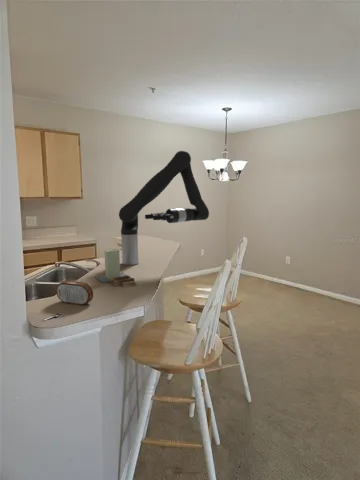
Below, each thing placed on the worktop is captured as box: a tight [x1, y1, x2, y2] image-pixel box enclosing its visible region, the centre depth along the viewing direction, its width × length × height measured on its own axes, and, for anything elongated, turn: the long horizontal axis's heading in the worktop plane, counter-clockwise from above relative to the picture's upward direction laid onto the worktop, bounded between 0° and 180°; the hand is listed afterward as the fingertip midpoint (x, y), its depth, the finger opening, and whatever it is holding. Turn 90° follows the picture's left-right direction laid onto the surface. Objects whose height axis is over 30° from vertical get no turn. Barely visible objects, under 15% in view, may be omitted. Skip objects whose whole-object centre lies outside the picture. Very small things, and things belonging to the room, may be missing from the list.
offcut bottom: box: [120, 284, 137, 289], centre depth 140 cm, size 4×6×1 cm, turn 124°
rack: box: [109, 274, 135, 287], centre depth 145 cm, size 7×9×2 cm
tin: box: [55, 279, 94, 306], centre depth 119 cm, size 15×3×8 cm, turn 71°
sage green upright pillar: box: [103, 248, 121, 279], centre depth 151 cm, size 4×6×13 cm, turn 125°
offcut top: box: [122, 280, 137, 286], centre depth 140 cm, size 3×5×1 cm, turn 123°
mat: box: [95, 272, 132, 284], centre depth 152 cm, size 10×14×1 cm
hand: (149, 217), depth 160 cm, fingers open, 8 cm apart
